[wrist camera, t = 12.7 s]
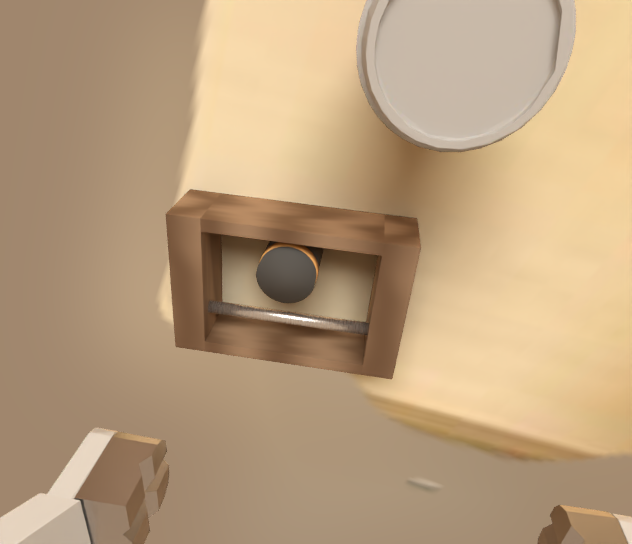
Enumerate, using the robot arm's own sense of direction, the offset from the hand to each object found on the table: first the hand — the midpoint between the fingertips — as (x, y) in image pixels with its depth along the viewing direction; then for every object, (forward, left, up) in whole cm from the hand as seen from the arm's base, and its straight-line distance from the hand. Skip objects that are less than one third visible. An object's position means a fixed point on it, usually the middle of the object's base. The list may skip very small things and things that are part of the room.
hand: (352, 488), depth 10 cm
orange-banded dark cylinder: (+5, +10, -29) cm, 31 cm away
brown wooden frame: (+5, +12, -29) cm, 32 cm away
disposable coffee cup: (-3, -7, -29) cm, 30 cm away
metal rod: (+5, +14, -26) cm, 30 cm away
